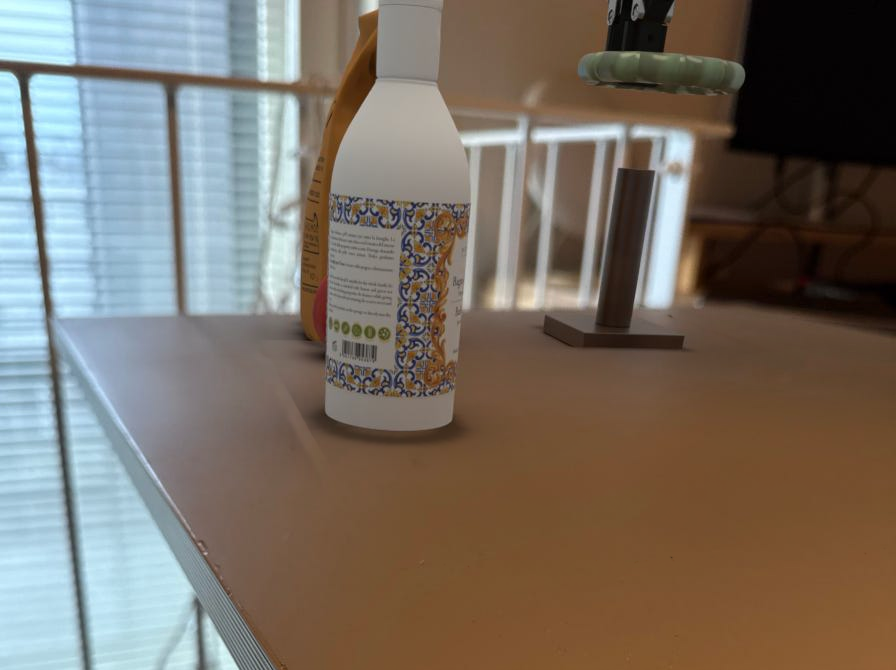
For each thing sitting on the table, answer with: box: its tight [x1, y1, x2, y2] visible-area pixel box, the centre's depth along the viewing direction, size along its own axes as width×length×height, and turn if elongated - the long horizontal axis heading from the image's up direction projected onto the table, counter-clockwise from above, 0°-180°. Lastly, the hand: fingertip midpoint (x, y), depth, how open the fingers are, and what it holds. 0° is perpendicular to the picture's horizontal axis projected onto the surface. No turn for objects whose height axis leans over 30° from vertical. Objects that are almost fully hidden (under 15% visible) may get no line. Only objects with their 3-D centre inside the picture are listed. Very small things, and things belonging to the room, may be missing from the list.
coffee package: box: [299, 8, 379, 342], centre depth 72 cm, size 10×12×22 cm
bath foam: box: [324, 0, 472, 432], centre depth 48 cm, size 7×7×20 cm
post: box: [542, 167, 686, 350], centre depth 80 cm, size 9×9×14 cm
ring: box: [577, 50, 746, 96], centre depth 69 cm, size 12×12×2 cm
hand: (629, 84), depth 73 cm, fingers closed on ring, 2 cm apart
